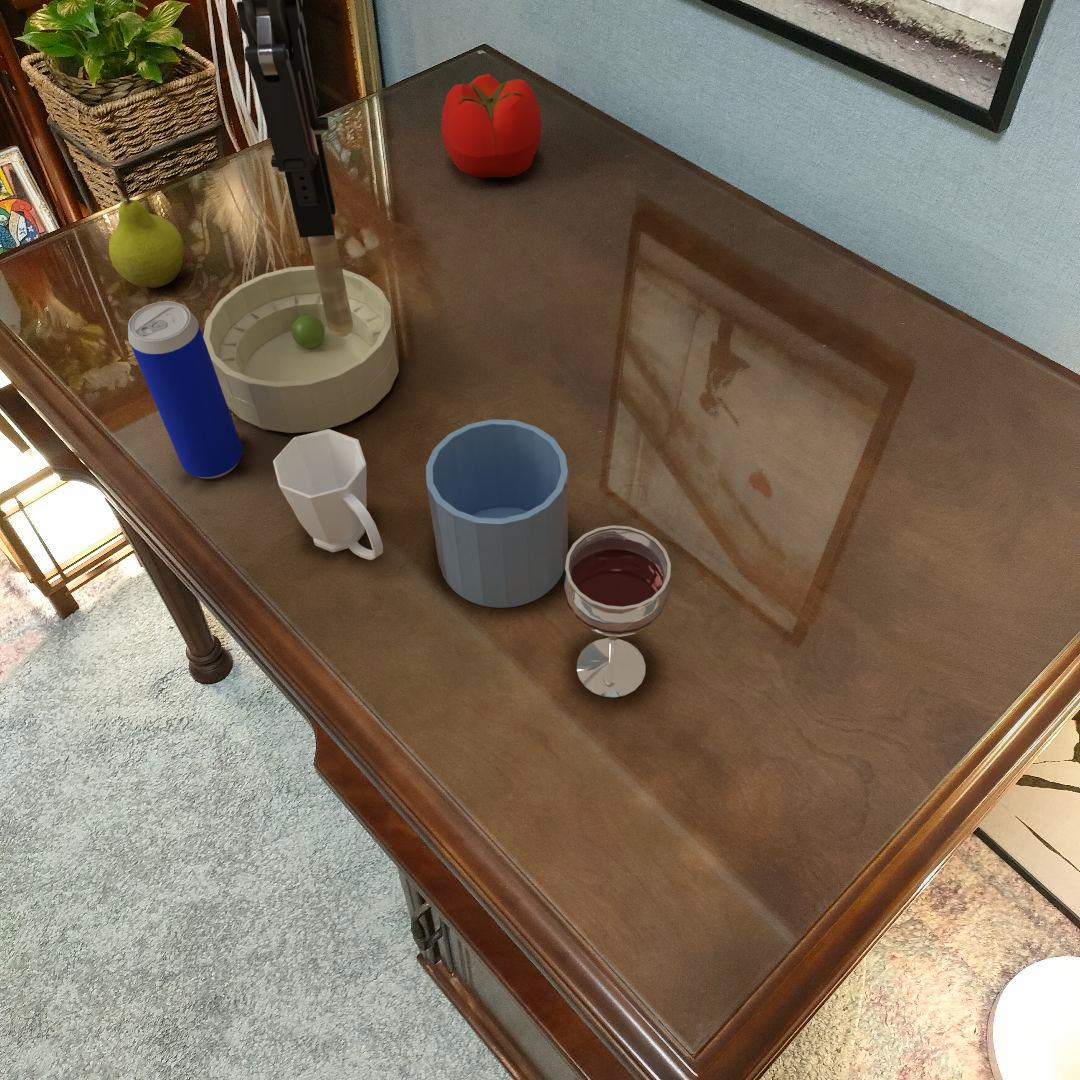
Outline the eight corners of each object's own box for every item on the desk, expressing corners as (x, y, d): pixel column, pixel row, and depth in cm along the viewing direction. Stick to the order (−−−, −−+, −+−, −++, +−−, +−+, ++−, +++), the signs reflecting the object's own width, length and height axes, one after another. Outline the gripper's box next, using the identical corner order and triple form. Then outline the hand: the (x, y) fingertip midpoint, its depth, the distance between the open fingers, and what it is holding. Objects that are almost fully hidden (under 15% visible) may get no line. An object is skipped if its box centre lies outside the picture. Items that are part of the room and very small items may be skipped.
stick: (329, 343, 90) (281, 132, 74) (330, 326, 91) (283, 116, 76) (354, 341, 90) (311, 130, 74) (355, 324, 91) (312, 114, 76)
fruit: (135, 258, 105) (93, 151, 96) (200, 259, 105) (165, 151, 96) (115, 301, 101) (69, 192, 92) (183, 301, 101) (144, 193, 91)
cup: (348, 484, 85) (331, 414, 79) (421, 554, 80) (409, 486, 74) (277, 528, 82) (253, 459, 76) (348, 603, 77) (329, 536, 71)
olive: (294, 356, 94) (287, 330, 92) (296, 335, 96) (289, 309, 94) (327, 353, 95) (321, 328, 92) (328, 332, 96) (322, 307, 94)
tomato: (551, 141, 118) (550, 64, 111) (526, 199, 111) (524, 120, 104) (462, 131, 120) (456, 55, 113) (432, 188, 112) (423, 110, 105)
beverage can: (221, 429, 89) (170, 289, 78) (256, 459, 87) (208, 319, 75) (171, 460, 87) (110, 321, 75) (205, 492, 85) (148, 353, 73)
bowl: (212, 444, 88) (193, 393, 84) (230, 324, 98) (213, 272, 94) (400, 429, 89) (391, 378, 84) (398, 311, 99) (390, 259, 94)
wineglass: (674, 690, 72) (690, 590, 63) (585, 721, 71) (588, 624, 61) (635, 616, 76) (645, 512, 67) (550, 644, 75) (548, 542, 65)
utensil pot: (441, 614, 77) (428, 530, 69) (437, 512, 83) (424, 424, 75) (573, 602, 77) (575, 517, 69) (559, 501, 83) (559, 413, 76)
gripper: (301, -60, 59) (363, 278, 77) (312, -153, 68) (366, 167, 87) (169, -52, 58) (263, 285, 77) (199, -146, 68) (277, 173, 86)
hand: (317, 222), depth 82 cm, fingers closed on stick, 2 cm apart
